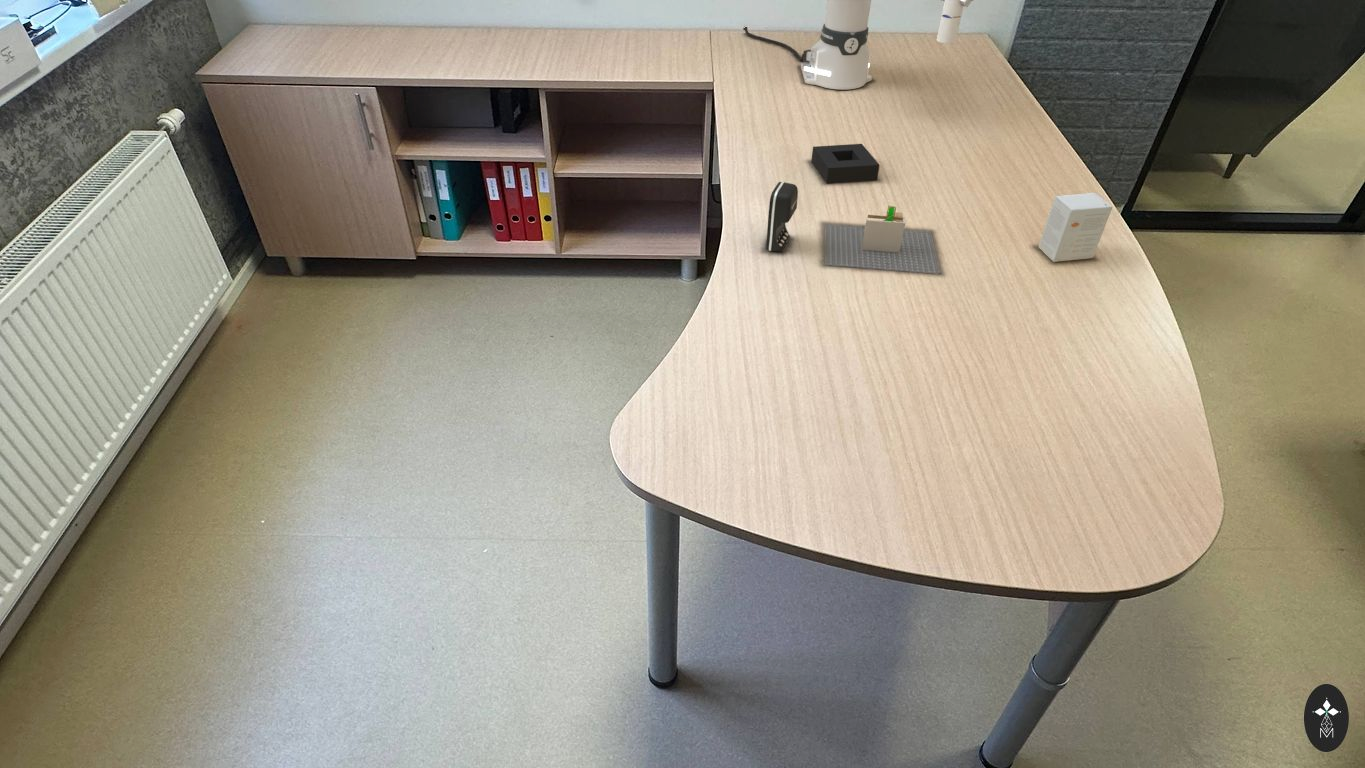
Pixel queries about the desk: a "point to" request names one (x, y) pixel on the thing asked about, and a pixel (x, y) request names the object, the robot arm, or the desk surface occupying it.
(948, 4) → the tube
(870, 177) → the socket pad
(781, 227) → the black plastic handset
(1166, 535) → the desk surface
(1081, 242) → the small box
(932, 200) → the desk surface
